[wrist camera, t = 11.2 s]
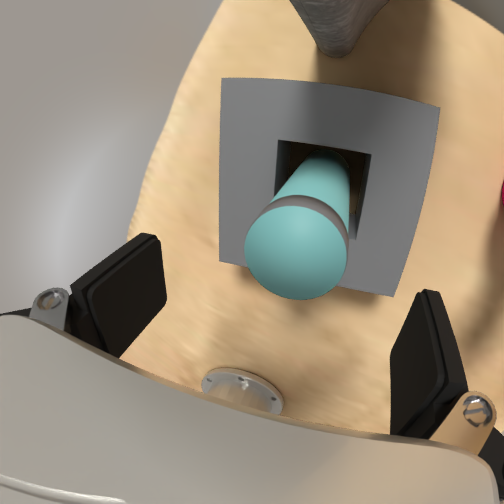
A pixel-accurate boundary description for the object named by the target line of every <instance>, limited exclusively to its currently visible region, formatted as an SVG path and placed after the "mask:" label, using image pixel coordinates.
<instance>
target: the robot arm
mask: <svg viewBox="0 0 504 504" xmlns="http://www.w3.org/2000/svg"><path fill="white" fill-rule="evenodd" d="M70 287H71V290H72V294H71V295H70V296H69V294H68V292H67V291H66V290H65V289H63V288H51V289H48V290H46V291H43V292H42V293H40V294H39V295H38V296H37V297H36V298H35V300H34V302H33V306H32V308H28V309H23V310H18V311H13V312H8V313H3V314H0V504H504V436H503V435H502V434H501V433H500V432H499V431H498V430H497V429H496V428H495V427H494V425H495V422H496V409H495V406H494V404H493V403H492V401H491V400H490V399H489V398H488V397H487V396H486V395H484V394H483V393H481V392H477V391H469V390H468V386H467V381H466V377H465V372H464V368H463V364H462V361H461V357H460V353H459V349H458V346H457V342H456V339H455V336H454V333H453V330H452V327H451V324H450V321H449V317H448V314H447V311H446V309H445V306H444V303H443V300H442V297H441V294H440V293H439V292H438V291H433V290H427V289H424V290H423V291H422V292H421V293H420V292H418V293H417V294H416V296H415V299H414V301H413V303H412V306H411V308H410V311H409V313H408V315H407V318H406V320H405V322H404V324H403V327H402V329H401V331H400V333H399V335H398V337H397V339H396V342H395V344H394V346H393V348H392V350H391V354H390V378H391V420H390V435H388V434H379V433H372V432H364V431H358V430H352V429H346V428H339V427H334V426H328V425H323V424H317V423H312V422H307V421H303V420H298V419H294V418H289V417H285V416H281V415H280V414H281V411H282V409H283V405H284V402H283V398H282V396H281V394H280V393H279V391H278V390H277V389H276V388H275V387H274V386H273V385H272V384H270V383H269V382H267V381H266V380H264V379H262V378H261V377H259V376H257V375H254V374H252V373H249V372H246V371H243V370H239V369H234V368H217V369H213V370H211V371H209V372H208V373H207V374H206V375H205V376H204V378H203V380H202V384H201V385H202V390H203V392H204V393H203V392H200V391H197V390H194V389H191V388H188V387H186V386H183V385H180V384H178V383H175V382H172V381H170V380H167V379H165V378H162V377H160V376H157V375H155V374H153V373H150V372H148V371H145V370H143V369H141V368H138V367H136V366H134V365H132V364H129V363H127V362H125V361H123V360H121V359H119V358H120V357H121V355H122V354H123V353H124V352H125V351H126V349H127V348H128V347H129V346H130V345H131V344H132V342H133V341H134V340H135V339H136V338H137V337H138V336H139V334H140V333H141V332H142V331H143V330H144V329H145V327H146V326H147V325H148V324H149V323H150V322H151V321H152V319H153V318H154V317H155V316H156V315H157V314H158V313H159V311H160V310H161V309H162V308H163V307H164V306H165V304H166V301H167V293H166V286H165V278H164V269H163V260H162V251H161V242H160V240H158V238H157V236H155V235H152V234H147V233H140V234H139V235H137V236H136V237H134V238H133V239H132V240H130V241H129V242H127V243H126V244H124V245H123V246H122V247H120V248H119V249H118V250H116V251H115V252H113V253H112V254H111V255H109V256H108V257H107V258H105V259H104V260H102V261H101V262H100V263H98V264H97V265H96V266H94V267H93V268H92V269H90V270H89V271H88V272H87V273H85V274H84V275H83V276H81V277H80V278H79V279H77V280H76V281H75V282H74V283H72V284H71V285H70Z"/></svg>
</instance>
